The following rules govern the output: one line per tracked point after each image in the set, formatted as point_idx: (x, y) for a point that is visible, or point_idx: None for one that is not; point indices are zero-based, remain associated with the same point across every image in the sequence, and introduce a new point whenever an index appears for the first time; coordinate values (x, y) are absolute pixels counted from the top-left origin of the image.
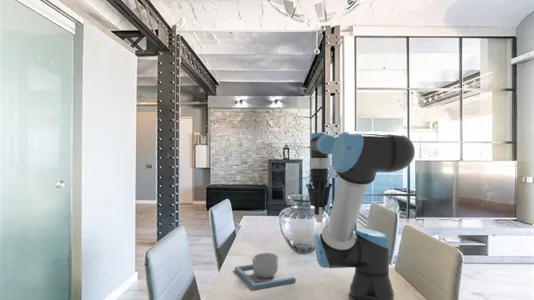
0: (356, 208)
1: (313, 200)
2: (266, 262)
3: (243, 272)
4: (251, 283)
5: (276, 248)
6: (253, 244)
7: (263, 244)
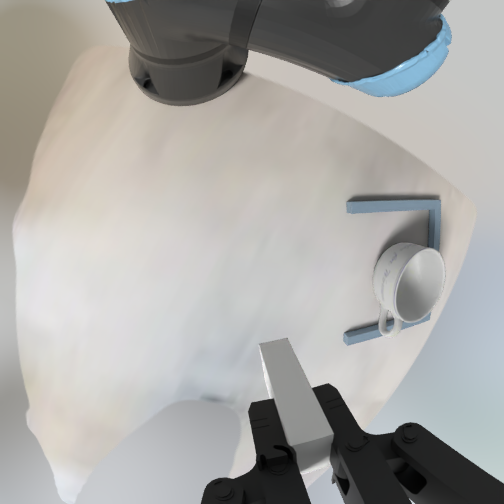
0: None
1: (455, 456)
2: (432, 248)
3: None
4: (440, 213)
5: None
6: None
7: None
